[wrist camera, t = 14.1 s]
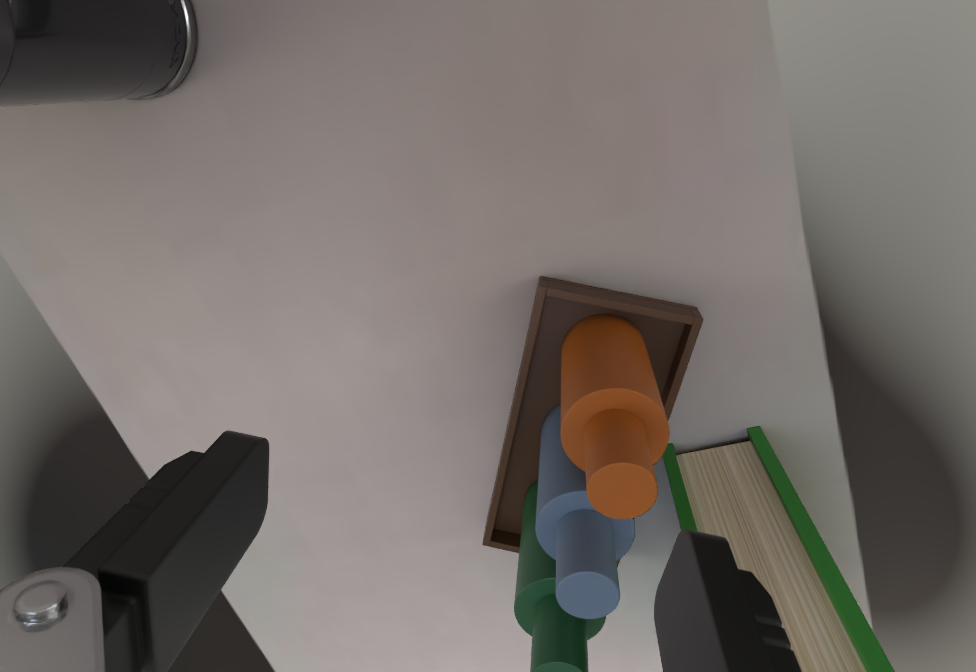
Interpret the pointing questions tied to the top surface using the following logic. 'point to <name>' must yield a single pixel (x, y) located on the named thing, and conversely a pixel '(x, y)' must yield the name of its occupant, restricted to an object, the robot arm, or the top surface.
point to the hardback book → (775, 549)
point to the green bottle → (547, 605)
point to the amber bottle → (612, 414)
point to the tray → (540, 381)
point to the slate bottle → (577, 531)
